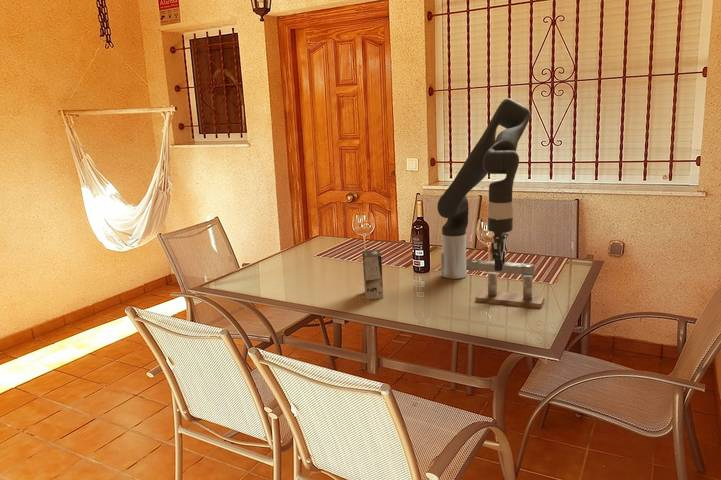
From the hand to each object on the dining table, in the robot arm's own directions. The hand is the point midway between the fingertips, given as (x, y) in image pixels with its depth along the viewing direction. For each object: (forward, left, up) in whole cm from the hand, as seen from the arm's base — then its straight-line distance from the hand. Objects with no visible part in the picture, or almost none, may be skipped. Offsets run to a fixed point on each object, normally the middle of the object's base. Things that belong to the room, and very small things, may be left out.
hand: (499, 268), depth 185 cm
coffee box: (-48, +8, -17) cm, 51 cm away
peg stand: (0, +16, -16) cm, 23 cm away
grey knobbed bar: (0, 0, -1) cm, 1 cm away
